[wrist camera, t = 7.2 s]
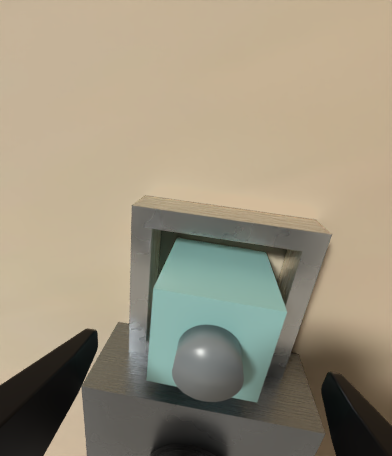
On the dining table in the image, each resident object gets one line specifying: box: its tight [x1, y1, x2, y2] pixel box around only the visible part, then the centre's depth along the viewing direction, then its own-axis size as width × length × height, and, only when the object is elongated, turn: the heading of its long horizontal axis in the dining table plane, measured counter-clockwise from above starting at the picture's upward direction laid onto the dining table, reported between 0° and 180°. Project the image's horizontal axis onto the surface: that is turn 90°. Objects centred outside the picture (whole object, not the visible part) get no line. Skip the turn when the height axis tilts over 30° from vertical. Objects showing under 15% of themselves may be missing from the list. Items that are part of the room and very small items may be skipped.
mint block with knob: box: [146, 238, 287, 403], centre depth 12 cm, size 5×5×6 cm
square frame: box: [82, 196, 332, 456], centre depth 13 cm, size 12×17×6 cm
